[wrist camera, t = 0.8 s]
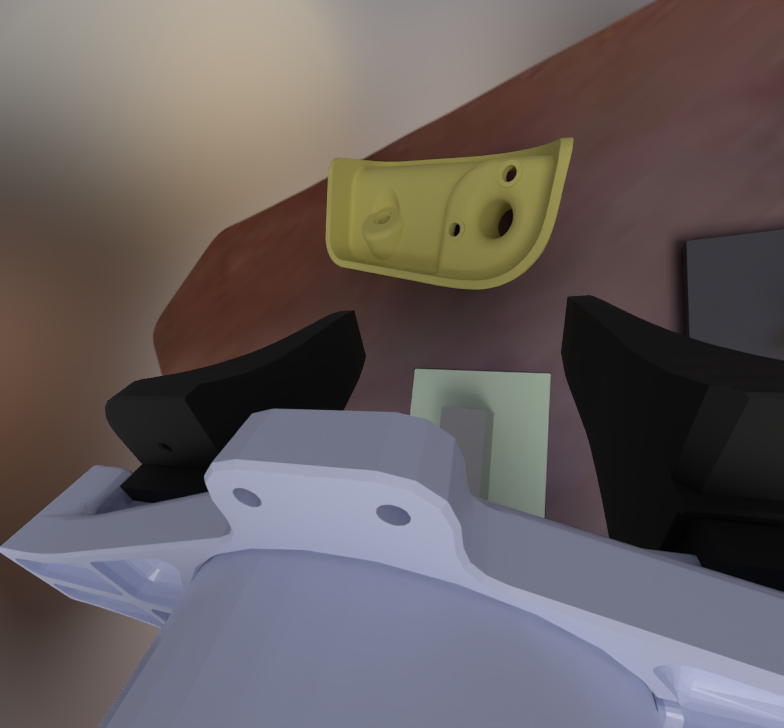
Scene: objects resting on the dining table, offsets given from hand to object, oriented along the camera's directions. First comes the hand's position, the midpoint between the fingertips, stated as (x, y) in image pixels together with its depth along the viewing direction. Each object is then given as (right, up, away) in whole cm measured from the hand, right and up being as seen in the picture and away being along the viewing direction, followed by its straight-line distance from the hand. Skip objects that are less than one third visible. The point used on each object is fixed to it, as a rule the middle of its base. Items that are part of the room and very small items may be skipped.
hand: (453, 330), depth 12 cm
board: (+4, -9, +13) cm, 16 cm away
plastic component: (+2, +10, +18) cm, 20 cm away
